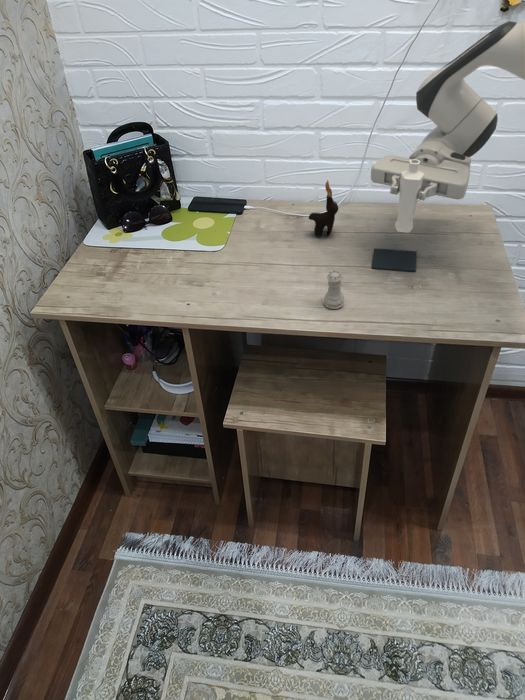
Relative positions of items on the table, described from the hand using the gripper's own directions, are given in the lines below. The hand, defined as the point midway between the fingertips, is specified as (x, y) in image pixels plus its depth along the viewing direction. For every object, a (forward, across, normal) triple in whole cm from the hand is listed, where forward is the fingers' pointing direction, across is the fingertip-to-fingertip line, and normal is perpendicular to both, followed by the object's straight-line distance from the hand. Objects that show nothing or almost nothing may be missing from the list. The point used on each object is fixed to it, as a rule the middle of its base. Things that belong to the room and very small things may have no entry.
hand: (407, 193), depth 116 cm
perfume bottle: (-1, 0, +9) cm, 9 cm away
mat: (-5, -2, +20) cm, 21 cm away
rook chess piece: (+16, -8, +20) cm, 27 cm away
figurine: (-9, -23, +21) cm, 32 cm away
